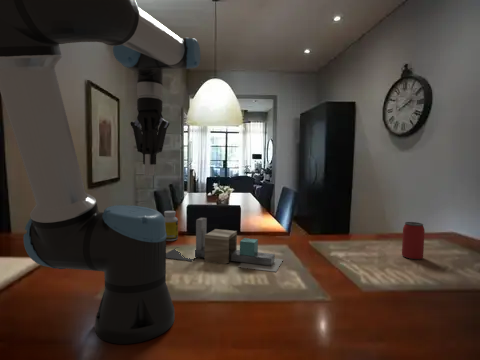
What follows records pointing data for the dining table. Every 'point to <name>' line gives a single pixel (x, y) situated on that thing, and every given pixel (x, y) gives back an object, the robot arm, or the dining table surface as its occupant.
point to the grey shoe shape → (176, 255)
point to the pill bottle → (171, 225)
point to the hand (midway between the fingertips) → (149, 175)
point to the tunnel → (219, 245)
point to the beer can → (413, 240)
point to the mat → (263, 266)
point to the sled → (245, 254)
